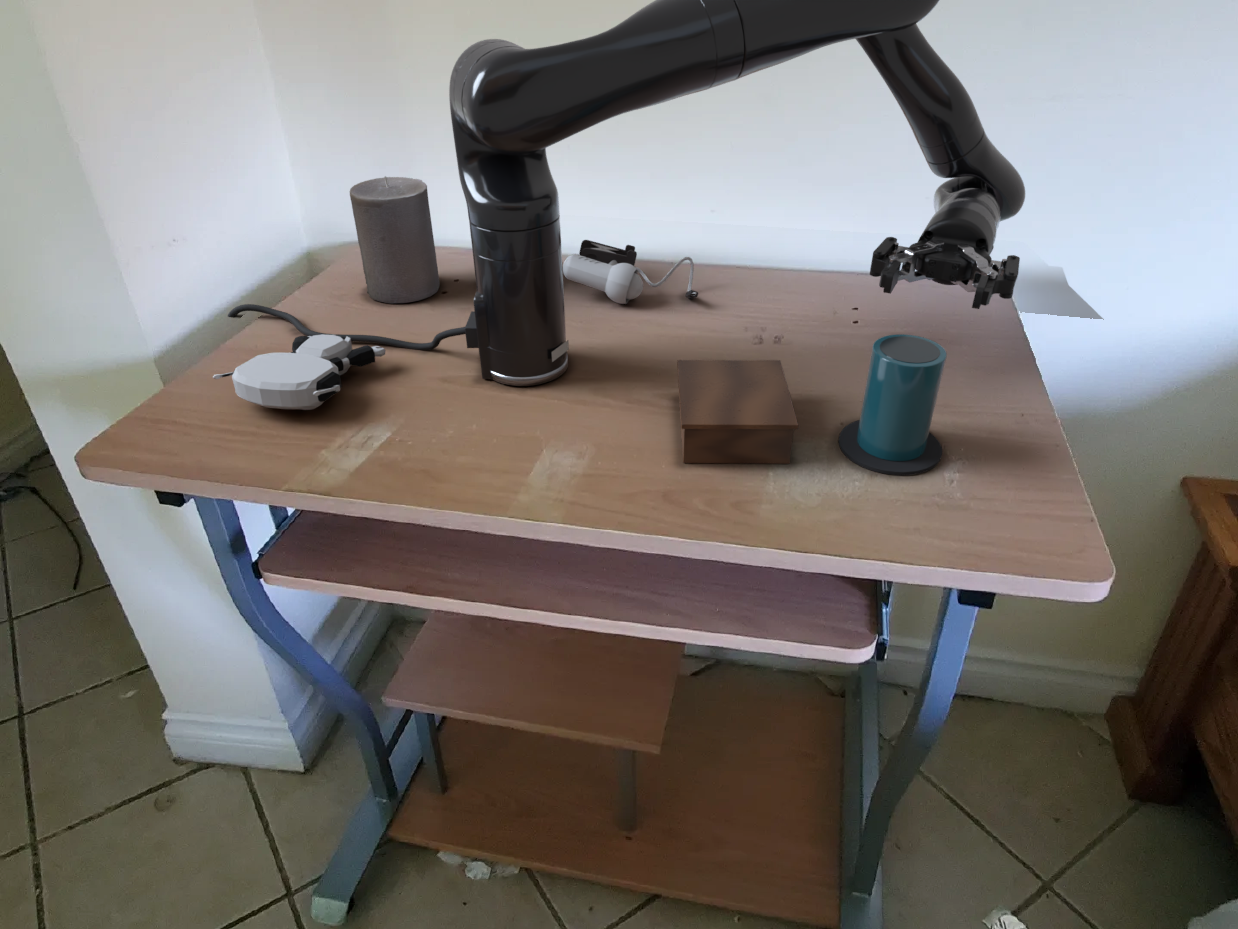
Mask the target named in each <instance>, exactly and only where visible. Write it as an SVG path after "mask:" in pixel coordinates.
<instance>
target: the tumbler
mask: <svg viewBox="0 0 1238 929" xmlns="http://www.w3.org/2000/svg"><path fill="white" fill-rule="evenodd" d="M947 355H948V354H947V351H946V349H945V348H944V347H943V346H942V345H941V344H939V343H938V342H936V341H934V340H932V339H929V338H926V337H924V336H919V335H914V334H903V333H901V334H900V333H899V334H888V335H885V336H882V337H880V338H878V339H876V340H875V341H874V342H873V344H872V348H871V353H870V358H869V359H870V360H869V365H868V371H867V375H866V383H865V386H864V387H865V388H864V394H863V399H862V405H861V411H860V417H859V420H860V422H859V428H858V433H857V442H858V444H859V446H860V447H861V448H862V449H863V450H864V451H865V452H867V453H868V454H870V455H872V456H875V457H877V458H880V459H884V460H889V461H908V460H913V459H915V458H918V457H919V456H921V455H922V454H923V453H924V451H925V448H926V444H927V440H928V435H929V432H931V431H930V430H931V426H932V422H933V417H934V413H935V409H936V404H937V400H938V396H939V391H940V388H941V382H942V378H943V373H944V370H945V365H946V361H947Z"/></svg>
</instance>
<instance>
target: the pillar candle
mask: <svg viewBox="0 0 1238 929" xmlns="http://www.w3.org/2000/svg"><path fill="white" fill-rule="evenodd" d="M428 194H429V193H428V185H427V183H425V182H424V181H423V180H422V179H419V178H412V177H406V176H405V177H404V176H386V175H385V176H384V177H376V178H372V179H368V180H364V181H360V182H359V183H356V184H354V185H352V186H351V187H350V189H349V197H350V202H351V209H352V213H353V219H354V220H353V221H354V226H355V230H356V236H357V242H358V246H359V251H360V256H361V262H362V269H363V274H364V279H365V285H366V294H367V295H368V297H369V298H370V299H372V300H374V301H377V302H380V303H385V304H408V303H414V302H419V301H422V300H425V299H427V298H430V297H432V296H433V295H435V294H436V293H437V292H438V291H439V289H440V284H441V283H440V277H439V269H438V260H437V252H436V246H435V238H434V232H433V224H432V217H431V210H430V201H429V195H428Z"/></svg>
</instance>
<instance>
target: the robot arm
mask: <svg viewBox="0 0 1238 929" xmlns="http://www.w3.org/2000/svg"><path fill="white" fill-rule="evenodd" d="M939 2H941V0H654V1H651V2H650V3H649V4H646V5H645V6H643V7H641V9H639V10H638V11H635V12H634V13H633V14H632V15H630V16H629V17H627V18H626V19H624V20H623V21H621V22H619V23H618V24H617V25H615V26H613V27H611V28H609V29H608V30H605V31H603V32H600V33H598V34H595V35H592V36H588V37H585V38H581V39H576V40H573V41H568V42H564V43H559V44H555V45H554V44H553V45H548V46H543V47H535V48H525V47H522V46H521V45H518V44H516V43H514V42H512V41H509V40H505V39H502V38H487V39H482V40H478V41H477V42H475V43H473V44H470V46H468V47H467V48H466V49H464V50H463V52H461V54H460V55H459V56H458V58H457V60H456V61H455V62H454V66H453V68H452V70H451V74H450V77H449V78H450V79H449V86H448V97H449V98H448V99H449V112H450V119H451V127H452V135H453V142H454V149H455V155H456V156H455V157H456V162H457V171H458V176H459V182H460V185H461V186H460V187H461V189H462V191H463V195H464V199H465V204H466V208H467V216H468V217H467V218H468V223H469V232H470V240H471V249H472V258H473V267H474V268H473V269H474V277H475V285H476V291H475V292H474V293H475V294H474V296H473V300H472V302H473V311H470V314H469V317H468V318H467V322H466V324H465V326H460V327H456V328H450V329H446V330H444V331H440V332H439V333H436V335H435V336H434V337H433V339H432V341H429V342H422V343H421V342H410V341H405V340H400V339H396V338H391V337H385V336H379V335H369V334H338V333H337V334H336V333H325V332H320V331H316V330H311V329H309V328H308V327H306V326H305V325H303V323H301V321H300V319H298V318H297V317H296V316H294V315H292V314H291V313H288V312H285V311H282V310H280V309H279V310H278V309H274V308H271V307H268V306H264V305H260V304H253V303H252V304H251V303H245V304H240V305H237V306H235V307H234V308H232V309H231V310H230V311H229V313H228V314H227V317H228V318H235V317H236V316H237V315H238V314H240V313H243V312H257V313H261V314H266V315H270V316H273V317H276V318H279V319H283V320H286V321H288V322H290V324H292V325H293V326H294V327H295V328H296V330H298V331H299V333H301V334H303V336H314V335H322V334H325V335H336V336H342V337H345V338H346V336H347V337H349V338H351V343H373V344H380V345H386V346H391V347H396V348H402V349H409V350H415V351H430V350H434V349H436V348H438V347H439V345H440V343H441V341H442V340H444V339H449V338H452V337H457V336H462V335H463V336H464V335H465V341H466V348H467V349H478V353H479V354H478V355H479V363H480V371H481V372H480V373H481V378H482V380H493V381H495V382H496V383H500V384H503V385H506V386H507V385H508V386H515V387H516V386H517V387H527V386H528V387H529V386H536V385H541V384H546V383H548V382H551V381H554V380H557V379H558V378H560V377H561V376H562V375H563V374H565V373H566V371H567V370H568V367H569V356H568V355H569V354H568V351H569V350H570V346H569V345H570V344H569V339H568V340H567V330H566V312H565V311H566V310H565V292H564V273H563V253H562V252H563V250H562V232H561V215H560V214H561V213H560V196H559V191H558V187H557V185H556V182H555V180H554V178H553V175H552V172H551V168H550V165H549V161H548V157H547V150H546V149H547V148H548V147H551V146H553V145H555V144H557V143H559V142H562V141H564V140H566V139H568V138H570V137H573V136H574V135H577V134H578V133H581V132H583V131H585V130H587V129H590V128H591V127H594V126H596V125H598V124H600V123H602V122H605V121H607V120H609V119H612V118H615V117H618V116H620V115H623V114H627V113H630V112H633V111H638V110H643V109H646V108H649V107H652V106H657V105H660V104H663V103H666V102H670V101H673V100H676V99H680V98H682V97H685V96H688V95H692V94H697V93H699V92H704V91H707V90H710V89H713V88H716V87H719V86H722V85H725V84H728V83H731V82H734V81H737V80H740V79H742V78H745V77H747V76H750V75H752V74H755V73H758V72H761V71H764V70H766V69H769V68H772V67H774V66H777V65H778V66H779V65H781V64H784V63H786V62H788V61H791V60H793V59H796V58H800V57H801V56H804V55H806V54H810V53H811V52H814V51H816V50H819V49H823V48H825V47H828V46H830V45H834V44H838V43H843V42H847V41H852V40H856V42H857V43H858V44H859V45H860V47H861V48H862V50H863V52H864V53H865V54H866V56H867V57H868V59H869V60H870V62H871V63H872V65H873V66H874V67H875V69H876V71H877V72H878V73H879V75H880V76H881V78H882V80H883V81H884V83H885V84H886V86H887V88H888V90H889V91H890V92H891V95H892V96H893V98H894V99H895V101H896V102H897V104H898V106H899V108H900V110H901V111H902V114H903V115H904V117H905V119H906V121H907V123H908V125H909V127H910V129H911V131H912V134H913V136H914V138H915V140H916V142H917V144H918V146H919V149H920V151H921V153H922V156H923V157H924V159H925V161H926V163H927V165H928V167H929V170H930V171H931V172H932V173H933V175H935V176H936V177H938V178H942V179H948V180H946V181H944V182H943V183H941V184H940V185H939V186H938V187H937V188H936V190H935V191H934V195H933V210H934V215H933V216H931V217H930V220H929V221H928V223H927V225H926V227H925V228H924V230H923V231H922V233H921V235H920V236H919V238H918V240H917V242H914V243H912V244H910V245H909V247H908V246H903V245H899V242H898V238H897V237H894V236H888V237H886V238H884V239H883V240H882V242H880V244H879V245H878V246H877V247H876V248H875V249H874V250H873V251H872V257H871V264H870V268H869V276H871V277H874V278H877V277H880V279H879V283H878V286H879V288H882V289H883V293H884V294H892V293H893V290H894V289H895V287H896V285H897V284H898V282H900V281H906V282H908V283H913V282H917V281H922V280H927V281H932V282H934V283H937V284H938V285H939V284H940V285H944V286H958V287H959V286H960V288H962V289H963V290H965V292H967V293H974V297H973V301H972V304H971V308H972V309H976V310H980V308H981V306H989V305H990V301H991V298H993V295H997V294H998V296H999V298H1001V299H1005V300H1010V299H1012V298H1013V295H1014V288H1015V285H1016V282H1017V280H1018V276H1019V269H1020V260H1021V258H1020V257H1019V256H1018V255H1016V254H1011V255H1007V257H1006V258H1002V259H1001V261H1000V260H995V259H994V260H993V259H992V256H991V254H992V252H993V250H994V246H995V245H994V244H995V242H996V238H997V231H998V228H999V225H1000V223H1001V222H1003V221H1006V220H1009V219H1011V218H1013V217H1015V216H1016V215H1018V213H1019V212H1021V210H1022V208H1023V206H1024V203H1025V202H1026V201H1025V200H1026V187H1025V186H1026V185H1025V183H1024V180H1023V178H1022V176H1021V174H1020V173H1019V172H1018V170H1017V168H1015V166H1014V165H1013V164H1012V163H1011V162H1010V161H1009V159H1008V158H1006V156H1004V155H1003V153H1001V152H1000V150H998V148H997V147H996V146H995V145H994V144H993V142H992V141H991V139H990V138H989V137H988V135H987V134H986V131H985V128H984V126H983V123H982V121H981V118H980V116H979V113H978V111H977V108H976V106H975V104H974V102H973V100H972V98H971V95H970V94H969V92H968V90H967V89H966V87H965V86H964V84H963V83H962V82H961V80H960V78H958V76H957V75H956V73H954V72H953V70H952V69H951V68H950V67H949V66H948V64H946V62H945V61H944V60H943V59H942V58H941V57H940V55H939V54H938V53H937V52H936V50H935V49H934V48H933V46H931V44H930V42H928V40H927V38H926V36H924V33H923V32H922V30H921V29H920V27H919V26H918V25H917V24H918V23H920V22H921V21H922V20H923V19H925V18H926V17H927V16H928V15H929V14H930V13H931V12H932V11H933V10H934V8H936V6H937V5H938V3H939Z"/></svg>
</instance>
